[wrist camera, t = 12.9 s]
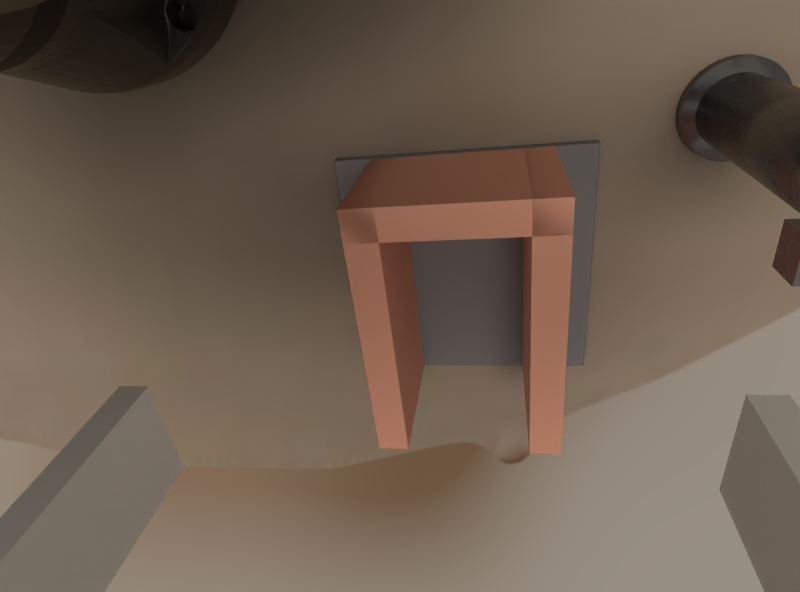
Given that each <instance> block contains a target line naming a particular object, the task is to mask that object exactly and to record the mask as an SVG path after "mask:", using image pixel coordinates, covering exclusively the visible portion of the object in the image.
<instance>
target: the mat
mask: <svg viewBox="0 0 800 592" xmlns="http://www.w3.org/2000/svg"><path fill="white" fill-rule="evenodd" d="M549 146H556V147H557V150H558V153H559V155H560V158H561V161H562V163H563V166H564V169H565V171H566V174H567V176H568V179H569V182H570V184H571V187H572V190H573V192H574V195H575V210H574V229H573V247H572V266H571V285H570V303H569V322H568V341H567V359H566V365H584V355H585V341H586V328H587V315H588V302H589V289H590V275H591V262H592V249H593V236H594V223H595V209H596V196H597V183H598V170H599V157H600V141H599V140H594V141H580V142H566V143H552V144H538V145H524V146H509V147H495V148H481V149H467V150H453V151H439V152H425V153H411V154H396V155H382V156H368V157H354V158H340V159H336V160H335V161H334V166H335V172H336V178H337V183H338V189H339V195H340V200H341V202H342V201H343V199H344V198H345V197H346V195H347V194H348V192H349V191H350V189H351V188H352V187H353V185H354V184H355V182H356V181H357V179H358V178H359V176H360V175H361V174H362V172H363V171H364V169H365V168H366V166H367V165H368V164H369V162H370V161H371V159H380V158H394V157H408V156H422V155H437V154H451V153H465V152H479V151H493V150H507V149H521V148H535V147H549ZM410 245H411V253H412V262H413V271H414V280H415V289H416V298H417V307H418V316H419V325H420V334H421V343H422V351H423V360H424V364H445V365H523V237H514V238H489V239H465V240H440V241H415V242H410Z"/></svg>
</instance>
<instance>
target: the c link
mask: <svg viewBox="0 0 800 592" xmlns="http://www.w3.org/2000/svg"><path fill="white" fill-rule="evenodd" d="M574 210H575V195H574V192H573V190H572V187H571V184H570V182H569V179H568V176H567V174H566V171H565V169H564V166H563V163H562V161H561V158H560V155H559V153H558V150H557V147H556V146H549V147H535V148H521V149H507V150H493V151H479V152H465V153H451V154H437V155H422V156H408V157H394V158H380V159H371V161H370V162H369V164H368V165H367V166H366V168H365V169H364V171H363V172H362V174H361V175H360V176H359V178H358V179H357V181H356V182H355V184H354V185H353V187H352V188H351V189H350V191H349V192H348V194H347V195H346V197H345V198H344V199H343V201H342V202H341V204H340V205H339V207H338V208H337V216H338V221H339V227H340V232H341V238H342V243H343V249H344V254H345V260H346V265H347V271H348V276H349V282H350V287H351V293H352V298H353V304H354V309H355V315H356V320H357V326H358V331H359V337H360V342H361V348H362V353H363V359H364V364H365V370H366V376H367V381H368V387H369V392H370V398H371V403H372V409H373V414H374V420H375V425H376V431H377V436H378V442H379V447H380V448H394V449H408V448H409V443H410V438H411V432H412V427H413V421H414V416H415V410H416V405H417V400H418V394H419V389H420V383H421V378H422V372H423V367H424V360H423V351H422V343H421V334H420V325H419V316H418V307H417V298H416V289H415V280H414V271H413V262H412V253H411V245H410V242H415V241H440V240H465V239H489V238H514V237H523V373H524V386H525V400H526V413H527V427H528V440H529V453H539V454H561V452H562V434H563V415H564V397H565V378H566V359H567V341H568V322H569V303H570V285H571V266H572V247H573V229H574Z"/></svg>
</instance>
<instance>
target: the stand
mask: <svg viewBox="0 0 800 592" xmlns="http://www.w3.org/2000/svg"><path fill="white" fill-rule="evenodd" d="M676 121H677V128H678V132H679V135H680V137H681V139H682V140H683V142H684V143H685V144H686V145H687V146H688V147H689V148H690V149H691V150H692V151H693V152H695V153H696V154H698V155H699V156H701V157H703V158H706V159H709V160H714V161H732V162H733V163H734V164H736V165H737V166H738V167H740V168H741V169H742V170H744V171H745V172H746V173H748V174H749V175H750V176H751V177H753V178H754V179H755V180H757V181H758V182H759V183H761V184H762V185H763V186H765V187H766V188H767V189H769V190H770V191H771V192H773V193H774V194H775V195H777V196H778V197H779V198H781V199H782V200H783V201H785V202H786V203H787V204H789V205H790V206H791V207H793V208H794V209H795V210H797V211H798V212H799V213H800V88H799V87H796V86H793V85H792V83H791V80H790V78H789V76H788V74H787V73H786V71H785V70H784V69H783V68H782V67H781V66H780V65H779V64H777V63H775V62H774V61H772V60H769V59H767V58H763V57H760V56H756V55H736V56H731V57H727V58H724V59H722V60H719V61H717V62H715V63H713V64H711V65H710V66H708V67H707V68H705V69H704V70H703V71H702V72H700V73H699V74H698V75H697V76H696V77H695V78H694V79H693V80H692V81H691V83H690V84H689V85H688V87H687V88H686V90H685V91H684V93H683V95H682V97H681V99H680V102H679V105H678V110H677V117H676ZM772 266H773V267H774V268H775V269H776V270H777V271H778V272H779V273H780V274H781V275H782V277H783V278H784V279H785V280H786V281H787V282H788V283H789V284H790V285H791V286H800V219H785V220H784V224H783V228H782V231H781V235H780V239H779V243H778V246H777V250H776V254H775V258H774V262H773V265H772Z"/></svg>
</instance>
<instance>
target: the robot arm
mask: <svg viewBox="0 0 800 592" xmlns="http://www.w3.org/2000/svg"><path fill="white" fill-rule="evenodd" d="M236 1H237V0H0V74H4V75H8V76H13V77H18V78H22V79H27V80H32V81H36V82H41V83H45V84H50V85H55V86H59V87H64V88H68V89H73V90H78V91H84V92H93V93H115V92H125V91H131V90H135V89H139V88H143V87H146V86H150V85H153V84H157V83H160V82H163V81H166V80H169V79H171V78H173V77H175V76H177V75H179V74H181V73H183V72H184V71H186V70H188V69H189V68H190V67H192V66H193V65H195V64H196V63H197V62H198V61H199V60H200V59H201V58H203V57H204V56H205V54H206V53H207V52H208V51H209V50H210V49H211V48H212V46H213V45H214V44H215V43H216V41H217V40H218V38H219V37H220V35H221V34H222V32H223V30H224V29H225V27H226V25H227V23H228V21H229V19H230V16H231V14H232V12H233V9H234V7H235V4H236ZM183 467H184V465H183V463H182V461H181V458H180V456H179V454H178V452H177V450H176V447H175V445H174V443H173V441H172V439H171V436H170V434H169V432H168V430H167V428H166V425H165V423H164V421H163V419H162V416H161V414H160V412H159V410H158V408H157V405H156V403H155V401H154V399H153V397H152V394H151V392H150V390H149V388H148V387H134V386H120V387H119V388H118V389H117V390H116V391H115V392H114V393H113V395H112V396H111V397H110V398H109V399H108V400H107V401H106V402H105V403H104V404H103V406H102V407H101V408H100V409H99V410H98V411H97V412H96V413H95V414H94V415H93V417H92V418H91V419H90V420H89V421H88V422H87V423H86V424H85V425H84V426H83V428H82V429H81V430H80V431H79V432H78V433H77V434H76V435H75V436H74V437H73V438H72V440H71V441H70V442H69V443H68V444H67V445H66V446H65V447H64V448H63V449H62V451H61V452H60V453H59V454H58V455H57V456H56V457H55V458H54V459H53V460H52V462H51V463H50V464H49V465H48V466H47V467H46V468H45V469H44V470H43V471H42V473H41V474H40V475H39V476H38V477H37V478H36V479H35V480H34V481H33V482H32V484H31V485H30V486H29V487H28V488H27V489H26V490H25V491H24V492H23V493H22V494H21V496H20V497H19V498H18V499H17V500H16V501H15V502H14V503H13V504H12V505H11V507H10V508H9V509H8V510H7V511H6V512H5V513H4V514H3V515H2V516H1V518H0V592H105V590H106V589H107V587H108V585H109V584H110V582H111V581H112V579H113V577H114V576H115V574H116V573H117V571H118V570H119V568H120V566H121V565H122V563H123V562H124V560H125V559H126V557H127V555H128V554H129V552H130V551H131V549H132V548H133V546H134V544H135V543H136V541H137V539H138V538H139V536H140V535H141V533H142V532H143V530H144V529H145V527H146V525H147V524H148V522H149V521H150V519H151V518H152V516H153V514H154V513H155V511H156V509H157V508H158V506H159V505H160V503H161V501H162V500H163V498H164V497H165V495H166V494H167V492H168V490H169V489H170V487H171V486H172V484H173V483H174V481H175V480H176V478H177V476H178V475H179V473H180V472H181V470H182V468H183ZM720 492H721V494H722V496H723V498H724V501H725V503H726V505H727V508H728V510H729V512H730V515H731V517H732V519H733V521H734V524H735V526H736V528H737V530H738V533H739V535H740V537H741V539H742V542H743V544H744V546H745V549H746V551H747V553H748V555H749V558H750V560H751V562H752V564H753V566H754V569H755V571H756V574H757V576H758V578H759V580H760V583H761V585H762V587H763V589H764V592H800V409H799V407H798V406H797V405H796V403H795V402H794V400H793V399H792V397H791V396H790V395H746V397H745V401H744V404H743V408H742V411H741V415H740V419H739V422H738V426H737V429H736V433H735V436H734V440H733V443H732V447H731V450H730V454H729V458H728V461H727V465H726V468H725V472H724V475H723V479H722V482H721V486H720Z"/></svg>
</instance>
